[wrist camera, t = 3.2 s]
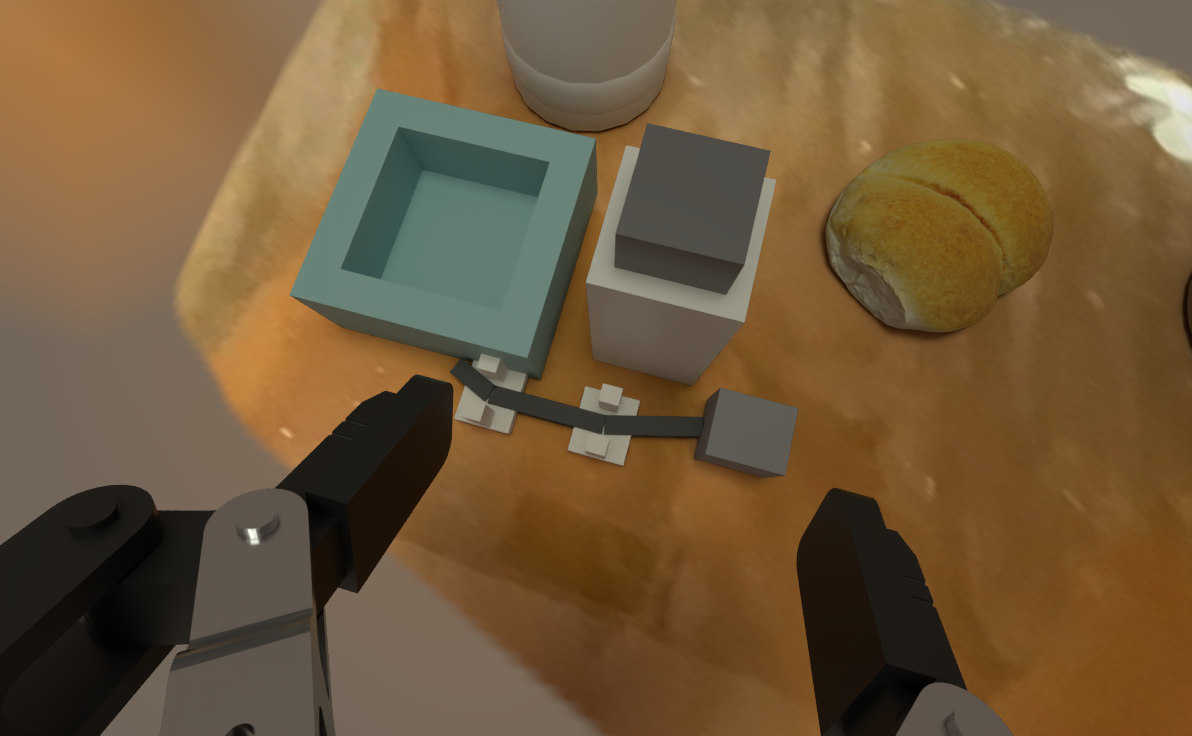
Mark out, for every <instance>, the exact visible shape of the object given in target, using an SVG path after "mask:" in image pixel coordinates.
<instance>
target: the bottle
mask: <svg viewBox="0 0 1192 736" xmlns="http://www.w3.org/2000/svg"><path fill="white" fill-rule="evenodd" d="M497 4H498V9H499V13H500V18H501V23H502V33H503V40H504V46H505V51H506V55H507V59H508V62H509V65H510V67H511V69H512V72H513V76H514V81H515V85H516V87H517V89H518V90H519V92H520V94H521V96H522V97H523V99H524V101H525V103H526V104H527V106H528V107H530V108H531V109H532V110H533V111H534V112H536V113H537V114H538V115H539V116H541V117H542V118H543V119H544V120H546V121H547V122H550V123H553V124H556V125H558V126H561V127H564V128H567V129H570V130H578V131H602V130H605V129H609V128H612V127H616V126H619V125H623V124H626V123H627V122H629V121H630V120H632V119H633V118H635V117H636V116H638V115H639V114H641V113H642V112H644V111H645V110H646V109H648V107H649V106H650V105H651V103H652V102H653V100H654V99H655V97H656V96H657V95H658V93H659V92H660V90H661V89H662V85H663V81H664V76H665V72H666V67H667V62H668V58H669V54H670V49H671V45H672V40H673V35H674V29H675V19H676V14H675V5H676V0H497Z"/></svg>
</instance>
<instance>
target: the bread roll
mask: <svg viewBox="0 0 1192 736" xmlns="http://www.w3.org/2000/svg"><path fill="white" fill-rule="evenodd" d="M825 233H826V246H827V251H828V256H829V261H830V265H831V267H832V268H833V270H834V271H835V272H836V273H837V275H838V276H839V277H840V278H841V280H842V281H843V282H844V283H845V285H846V287H847V288H848V290H849V292H850V293H851V294H852V295H853V296H854V297H855V298H856V299H857V300H858V301H859V302H860V303H861V304H862V305H863V306H864V307H865V308H866V309H867V310H869V311H870V312H871V313H872V314H873V315H874V316H875V317H877V318H878V319H880V320H881V321H882V322H884V323H885V324H887V325H889V326H891V327H894V328H898V329H912V330H921V331H927V332H951V331H956V330H959V329H962V328H965V327H968V326H971V325H973V324H975V323H977V322H978V321H980V320H981V319H982V318H984V317H985V316H986V315H987V314H988V313H989V311H990V310H991V309H992V308H993V306H994V304H995V302H996V300H997V297H998V295H1001V294H1004V293H1006V292H1009V291H1011V290H1013V289H1015V288H1017V287H1019V286H1021V285H1023V284H1024V283H1026V282H1027V281H1028V280H1029V279H1030V278H1032V277H1033V275H1034V274H1035V273H1036V272H1037V271H1038V270H1039V269H1040V267H1041V266H1042V264H1043V263H1044V261H1045V259H1046V257H1047V254H1048V251H1049V247H1050V244H1051V239H1052V234H1053V215H1052V211H1051V208H1050V205H1049V202H1048V199H1047V196H1046V193H1045V191H1044V190H1043V188H1042V186H1041V184H1040V182H1039V180H1038V179H1037V177H1036V176H1035V175H1034V174H1033V172H1032V171H1031V170H1030V169H1029V168H1028V167H1027V166H1026V165H1025V164H1024V163H1022V162H1021V161H1020V160H1019V159H1018V158H1017V157H1015V156H1014V155H1013V154H1011V153H1009V152H1008V151H1006V150H1004V149H1001V148H999V147H997V146H995V145H992V144H989V143H985V142H980V141H974V140H964V139H942V140H932V141H926V142H921V143H916V144H912V145H907V146H904V147H902V148H899V149H897V150H895V151H892V152H890V153H888V154H886V155H884V156H882V157H881V158H879V159H878V160H876V161H875V162H873V163H872V164H871V165H869V166H868V167H867V168H866V169H865V170H864V171H863V172H862V173H861V174H860V175H859V176H858V177H856V178H855V179H854V180H853V181H852V182H851V183H850V185H849V186H848V187H847V188H846V189H845V190H844V191H843V192H842V193H841V195H840V196H839V197H838V199H837V201H836V202H835V204H834V206H833V208H832V210H831V212H830V216H829V219H828V222H827V224H826V231H825Z"/></svg>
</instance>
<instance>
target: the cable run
mask: <svg viewBox="0 0 1192 736" xmlns="http://www.w3.org/2000/svg"><path fill="white" fill-rule="evenodd" d="M450 373H451V374H453V375H454V376H455V377H456V378H457V379H458V380H460V381H461V382H462V383H463V384H464V385H465V388H464V391H463V394H462V397H461V400H460V403H459V406H458V409H457V412H456V414H455V417H454V419H456V420H458V421H462V422H465V423H469V424H472V425H476V426H480V427H483V428H487V429H491V430H494V431H498V432H501V433H505V434H509V435H511V432H512V429H513V426H514V422H515V419H516V416H517V413H520V414H524V415H527V416H531V417H535V418H538V419H542V420H546V421H549V422H553V423H557V424H560V425H564V426H568V427H571V428H574V429H573V432H572V436H571V440H570V443H569V447H568V451H570V452H574V453H577V454H581V455H584V456H588V457H592V458H595V459H599V460H602V461H606V462H610V463H613V464H617V465H620V466H623V465H624V461H625V457H626V453H627V450H628V446H629V442H630V438H631V437H666V438H698V441H697V445H696V450H695V454H694V459H697V460H701V461H705V462H708V463H712V464H716V465H719V466H723V467H727V468H730V469H734V470H738V471H741V472H745V473H749V474H752V475H756V476H760V477H763V478H764V477H775V476H785V475H786V470H787V464H788V459H789V454H790V449H791V444H792V438H793V433H794V428H795V423H796V417H797V412H798V408H796V407H792V406H788V405H784V404H781V403H777V402H773V401H769V400H765V399H762V398H758V397H754V396H750V395H746V394H742V393H739V392H735V391H731V390H727V389H723V388H720V389H719V390H717V391H716V392H715V393H714V394H713V395H712V396H711V397H710V398H709V399H707V402H706V406H705V411H704V415H703V417H675V416H636V415H637V411H638V407H639V403H640V401H639V400H635V399H632V398H628V397H624V396H622V391H623V389H622V388H619V387H615V386H611V385H607V384H604V383H603V386H602V389H601V390H598V389H594V388H590V387H587V386H586V387H585V390H584V394H583V397H582V401H581V404H580V408H577V407H574V406H570V405H566V404H563V403H559V402H555V401H552V400H548V399H544V398H540V397H537V396H533V395H529V394H526V393H524V390H525V387H526V383H527V380H528V375H527V374H524V373H521V372H517V371H513V370H509V369H508V368H507V366H506V365H505V364H504V363H503V361H502V360H501V359H500V358H496V357H492V356H488V355H485V354H481V356H480V359H479V361H476V360H474V361H473V364H472V366H471V365H470V364H469V363H468V362H466V361H465V360H464V359H463V358H462V359H461V360H460V361H459V362H458V363H457V364H456V365H455V366H454V368H453V369H452V370H451V371H450Z"/></svg>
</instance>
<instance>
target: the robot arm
mask: <svg viewBox="0 0 1192 736" xmlns="http://www.w3.org/2000/svg"><path fill="white" fill-rule="evenodd" d="M1187 311H1188V322H1189V327H1190V330H1191V333H1192V280H1191V283H1190V286H1189V293H1188V299H1187ZM452 416H453V386H452V384H451V383H448V382H444V381H440V380H436V379H433V378H429V377H425V376H422V375H414V376H413V377H412V378H411V379H410V380H409V381H408V382H407V383H406V384H405V385H404V386H403V387H402V388H401V389H400V390H399V392H398V393H397V394H396V393H392V392H388V391H384V392H382V393H380V394H378V395H376V396H374V397H372V398H370V399H368V400H366V401H363V402H362V403H361V404H360V405H359V406H358V407H357V408H356V409H355V410H354V411H353V412H352V413H351V414H350V415H349V416H348V417H347V418H346V420H345V422H342V423H341V424H339V425H338V426H337V427H336V428H335V429H334V430H333V431H332V435H328V436H327V437H326V438H325V439H324V440H323V441H322V442H321V443H320V444H319V445H318V446H317V447H316V448H315V449H314V450H313V451H312V452H311V453H310V454H309V455H308V456H307V457H306V458H305V459H304V460H303V461H302V462H301V463H300V464H299V465H298V466H297V467H296V468H295V469H294V470H293V471H292V472H291V473H290V474H289V475H288V476H287V477H286V478H285V479H284V480H283V481H282V482H281V483H280V484H279V485H278V486H277V487H275V488H274V489H260V490H256V491H251V492H248V493H245V494H242V495H240V496H238V497H236V498H233V499H232V500H230V501H228V502H227V503H225V504H224V505H223V506H221V507H220V508H219V509H218V510H214V511H159V510H158V511H157V509H156V506H155V504H154V501H153V499H152V497H151V495H150V494H149V493H148V492H147V491H145V490H143V489H141V488H139V487H136V486H130V485H110V486H104V487H98V488H94V489H90V490H87V491H84V492H81V493H78V494H76V495H74V496H71V497H69V498H67V499H65V500H63V501H62V502H60V503H58V504H56V505H55V506H53V507H52V508H50V509H49V510H47V511H46V512H45V513H43V514H42V515H41V516H39V517H38V518H37V519H35V520H34V521H33V522H31V523H30V524H29V525H27V526H26V527H25V528H23V529H22V530H20V531H19V532H18V533H17V534H15V535H14V536H12V537H11V538H10V539H8V540H7V541H6V542H4V543H3V544H2V545H0V736H100V735H101V733H102V732H103V731H104V730H105V729H106V728H107V726H108V725H109V724H110V723H111V721H112V720H113V719H114V718H115V717H116V716H117V715H118V713H119V712H120V711H121V710H122V709H123V707H124V706H125V705H126V704H127V703H128V701H129V700H130V699H131V698H132V697H133V695H134V694H135V693H136V692H137V691H138V689H139V688H140V687H141V685H143V684H144V682H145V681H146V680H147V679H148V678H149V676H150V675H151V674H152V673H153V672H154V670H155V669H156V668H157V667H158V666H159V664H160V663H161V662H162V661H163V660H164V658H165V657H166V656H167V655H168V654H169V652H170V651H171V650H172V649H173V647H175V645H179V644H189V645H188V648H187V650H185V651H182V652H179V653H177V654H176V656H175V658H174V660H173V662H172V665H171V669H170V673H169V678H168V684H167V690H166V698H165V704H164V710H163V717H162V723H161V730H160V736H335V728H334V720H333V710H332V698H331V683H330V670H329V655H328V641H327V628H326V613H325V605H326V603H327V602H328V600H329V599H330V598H331V596H332V595H333V593H334V592H335V591H336V589H337V588H342V589H345V590H348V591H351V592H355V593H358V592H359V591H360V589H361V588H362V586H363V585H364V583H365V582H366V580H367V579H368V577H369V576H370V574H371V573H372V571H373V570H374V568H375V567H376V565H377V564H378V562H379V561H380V559H381V558H382V556H383V555H384V553H385V552H386V550H387V549H388V547H389V546H390V544H391V543H392V541H393V540H394V538H395V537H396V535H397V534H398V532H399V531H400V529H401V528H402V526H403V525H404V523H405V522H406V520H407V519H408V517H409V516H410V514H411V513H412V511H413V510H414V508H415V507H416V505H417V504H418V502H419V501H420V499H421V498H422V496H423V495H424V493H425V492H426V490H427V489H428V487H429V486H430V484H431V483H432V481H433V480H434V478H435V477H436V475H437V474H438V472H439V471H440V469H441V468H442V466H443V464H444V462H445V460H446V458H447V456H448V453H449V449H450V446H451V440H452ZM796 565H797V574H798V580H799V587H800V594H801V601H802V608H803V615H804V622H805V629H806V636H807V643H808V650H809V656H810V663H811V670H812V677H813V684H814V691H815V698H816V705H817V712H818V719H819V726H820V732H821V736H1013V734H1012V733H1011V731H1010V730H1009V728H1008V727H1007V726H1006V724H1005V723H1004V722H1003V721H1002V720H1001V718H1000V717H999V716H998V715H997V714H996V713H995V712H994V711H993V710H992V709H991V708H990V707H989V706H988V705H986V704H985V703H984V702H983V701H982V700H980V699H979V698H977V697H976V696H975V695H973V694H971V693H970V692H968V690H967V688H966V686H965V683H964V680H963V678H962V675H961V672H960V670H959V667H958V665H957V662H956V659H955V657H954V654H953V652H952V649H951V646H950V644H949V641H948V638H947V636H946V633H945V631H944V628H943V625H942V623H941V620H940V618H939V615H938V612H937V610H936V608H935V607H933V599H932V597H931V594H930V591H929V589H928V586H925V578H924V576H923V573H922V571H921V568H920V565H919V563H918V560H917V557H916V555H915V554H914V553H913V552H912V550H911V549H910V548H909V546H908V545H907V544H906V543H905V541H904V540H903V539H902V537H901V536H900V535H899V534H898V532H897V531H893V530H890V529H886V526H885V523H884V521H883V518H882V515H881V512H880V509H879V506H878V504H877V502H876V500H875V499H874V498H871V497H867V496H864V495H860V494H856V493H853V492H849V491H845V490H841V489H838V488H833V489H831V490H830V491H829V492H828V493H827V495H826V496H825V498H824V500H823V501H822V503H821V505H820V507H819V508H818V510H817V512H816V513H815V515H814V517H813V519H812V520H811V522H810V524H809V525H808V527H807V529H806V531H805V532H804V534H803V536H802V538H801V540H800V543H799V547H798V551H797V561H796Z"/></svg>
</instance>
